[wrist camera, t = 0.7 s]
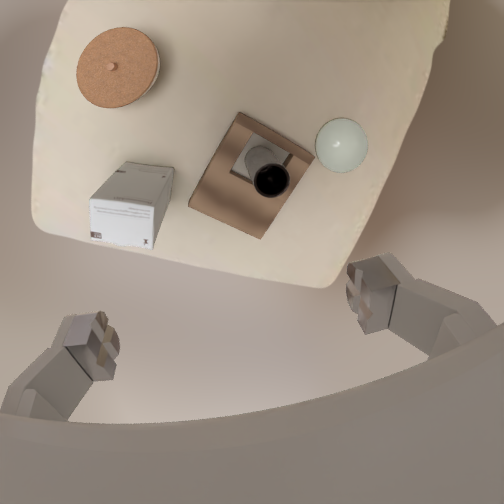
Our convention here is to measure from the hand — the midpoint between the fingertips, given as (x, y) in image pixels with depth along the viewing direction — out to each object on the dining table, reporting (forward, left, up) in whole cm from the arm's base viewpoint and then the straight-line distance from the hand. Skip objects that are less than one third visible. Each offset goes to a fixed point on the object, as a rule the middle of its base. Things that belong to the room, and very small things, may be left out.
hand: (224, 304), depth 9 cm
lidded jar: (-3, -16, -38) cm, 41 cm away
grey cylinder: (+1, +8, -38) cm, 39 cm away
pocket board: (+4, +8, -37) cm, 39 cm away
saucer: (-8, +18, -37) cm, 43 cm away
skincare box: (+12, -6, -38) cm, 40 cm away
